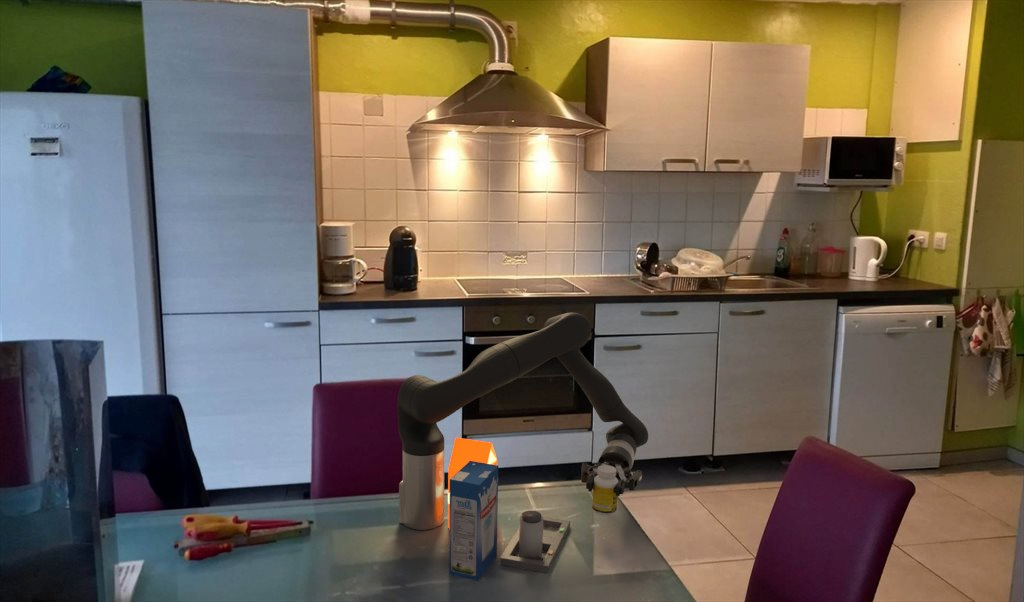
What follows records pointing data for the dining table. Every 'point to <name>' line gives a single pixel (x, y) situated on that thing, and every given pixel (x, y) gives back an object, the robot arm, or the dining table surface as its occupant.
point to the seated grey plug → (531, 535)
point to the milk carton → (473, 520)
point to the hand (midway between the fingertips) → (603, 489)
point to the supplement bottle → (605, 491)
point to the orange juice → (468, 458)
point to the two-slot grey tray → (548, 544)
